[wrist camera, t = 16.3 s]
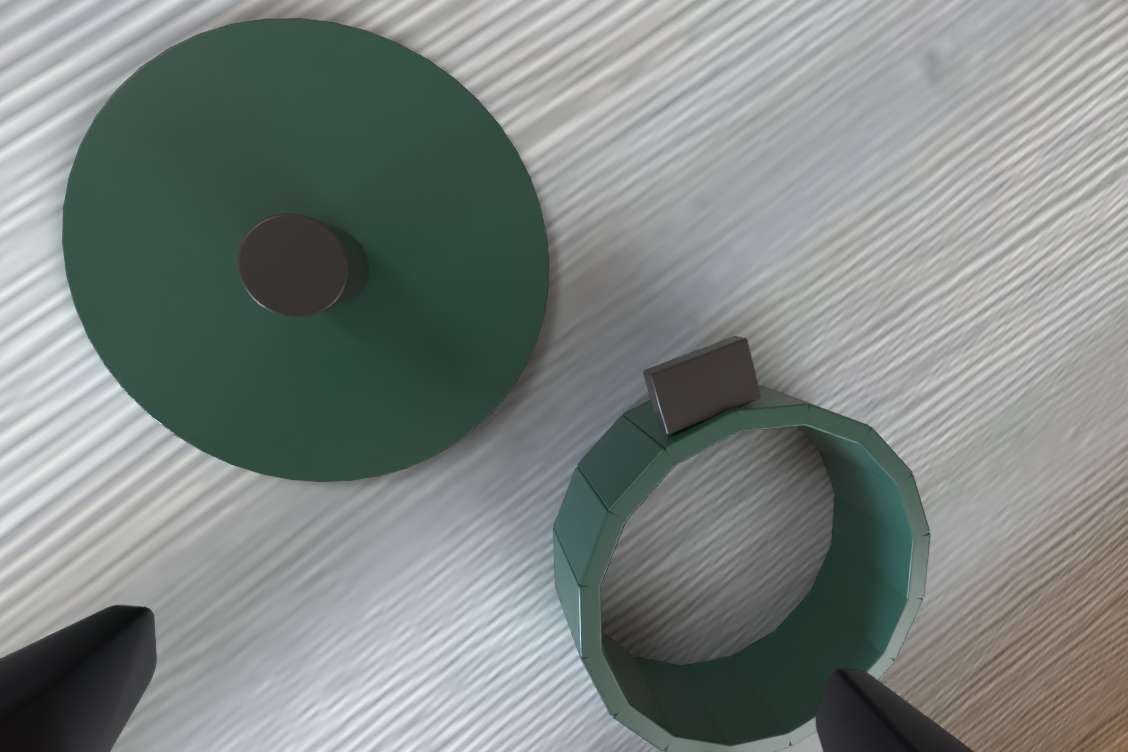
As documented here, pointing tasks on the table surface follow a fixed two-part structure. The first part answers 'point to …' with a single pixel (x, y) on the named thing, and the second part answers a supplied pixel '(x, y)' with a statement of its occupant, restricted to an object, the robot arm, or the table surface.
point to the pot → (819, 623)
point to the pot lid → (305, 249)
